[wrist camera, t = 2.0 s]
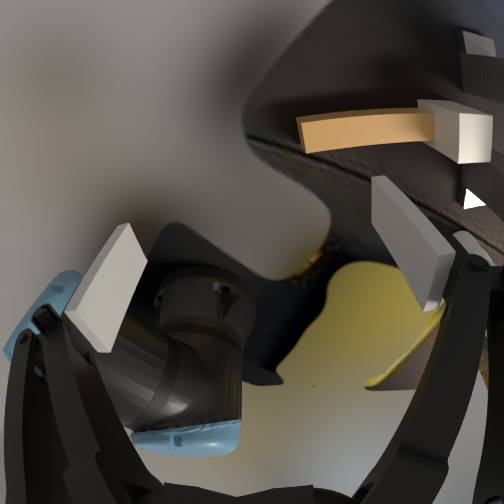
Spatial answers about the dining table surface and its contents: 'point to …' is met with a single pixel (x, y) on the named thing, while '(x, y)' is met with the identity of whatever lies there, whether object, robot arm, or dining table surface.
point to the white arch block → (494, 89)
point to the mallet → (404, 129)
